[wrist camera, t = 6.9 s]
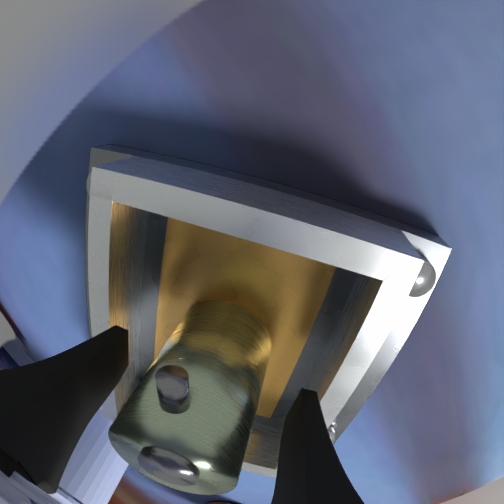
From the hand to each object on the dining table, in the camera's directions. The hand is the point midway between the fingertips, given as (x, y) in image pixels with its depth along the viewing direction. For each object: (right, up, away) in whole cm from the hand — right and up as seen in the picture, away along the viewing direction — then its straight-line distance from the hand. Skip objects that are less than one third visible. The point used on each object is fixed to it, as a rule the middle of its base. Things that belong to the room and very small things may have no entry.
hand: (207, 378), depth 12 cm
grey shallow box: (+1, +2, +4) cm, 5 cm away
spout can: (0, +1, +3) cm, 3 cm away
